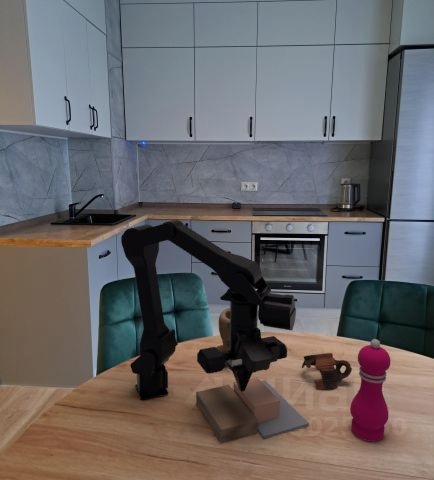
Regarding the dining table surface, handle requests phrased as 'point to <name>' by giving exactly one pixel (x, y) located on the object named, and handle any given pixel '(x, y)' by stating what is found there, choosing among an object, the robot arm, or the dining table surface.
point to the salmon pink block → (259, 400)
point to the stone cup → (224, 329)
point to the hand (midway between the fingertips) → (241, 390)
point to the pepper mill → (371, 393)
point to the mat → (281, 418)
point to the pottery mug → (327, 369)
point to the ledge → (226, 413)
